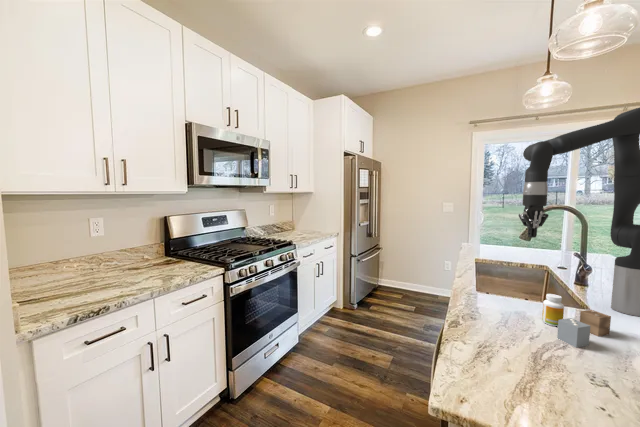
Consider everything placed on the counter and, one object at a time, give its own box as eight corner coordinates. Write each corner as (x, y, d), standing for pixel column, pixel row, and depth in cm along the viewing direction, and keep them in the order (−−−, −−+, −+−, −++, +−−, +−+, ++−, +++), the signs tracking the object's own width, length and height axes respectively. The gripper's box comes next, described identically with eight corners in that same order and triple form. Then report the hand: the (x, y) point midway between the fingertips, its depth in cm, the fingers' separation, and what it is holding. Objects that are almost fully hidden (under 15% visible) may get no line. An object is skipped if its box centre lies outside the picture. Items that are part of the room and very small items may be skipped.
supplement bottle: (567, 327, 89) (569, 299, 88) (549, 326, 89) (551, 298, 89) (554, 320, 94) (556, 293, 94) (538, 319, 95) (539, 292, 94)
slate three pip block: (569, 336, 83) (570, 317, 83) (588, 345, 78) (590, 325, 78) (557, 338, 82) (558, 319, 82) (576, 347, 77) (577, 327, 77)
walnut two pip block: (590, 327, 90) (591, 309, 89) (609, 334, 85) (611, 315, 84) (579, 328, 88) (580, 310, 88) (598, 336, 84) (599, 317, 83)
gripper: (531, 193, 101) (528, 239, 102) (557, 194, 104) (554, 238, 105) (512, 193, 108) (510, 236, 109) (538, 194, 111) (535, 235, 113)
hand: (532, 237), depth 107 cm, fingers closed
